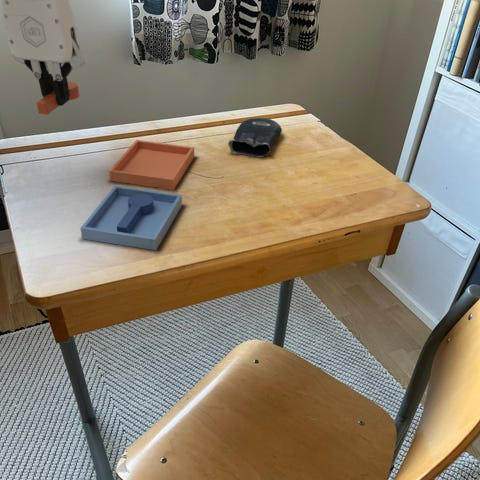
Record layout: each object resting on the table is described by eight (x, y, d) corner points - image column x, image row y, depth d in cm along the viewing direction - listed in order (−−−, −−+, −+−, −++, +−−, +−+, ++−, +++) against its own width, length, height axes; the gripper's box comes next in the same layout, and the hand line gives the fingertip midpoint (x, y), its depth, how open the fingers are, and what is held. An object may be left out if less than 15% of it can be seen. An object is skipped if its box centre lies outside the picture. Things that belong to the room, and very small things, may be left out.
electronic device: (273, 165, 106) (284, 127, 115) (271, 140, 101) (283, 103, 111) (229, 164, 108) (244, 127, 117) (226, 140, 104) (241, 104, 113)
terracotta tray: (110, 180, 95) (109, 170, 94) (137, 149, 105) (136, 139, 104) (173, 189, 94) (173, 179, 92) (194, 156, 104) (194, 147, 103)
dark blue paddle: (135, 238, 81) (134, 229, 79) (110, 234, 81) (108, 225, 80) (157, 204, 89) (156, 195, 87) (134, 201, 89) (132, 192, 88)
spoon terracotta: (55, 115, 84) (52, 104, 83) (31, 112, 84) (28, 101, 83) (83, 93, 92) (81, 82, 90) (61, 90, 92) (59, 80, 91)
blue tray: (82, 238, 81) (80, 228, 80) (116, 195, 91) (114, 185, 90) (156, 250, 79) (155, 239, 78) (182, 205, 90) (181, 194, 88)
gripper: (-33, -26, 73) (3, 105, 86) (69, -18, 71) (91, 115, 84) (-4, -35, 79) (26, 90, 91) (92, -27, 77) (109, 99, 89)
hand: (57, 101), depth 87 cm, fingers closed on spoon terracotta, 1 cm apart
